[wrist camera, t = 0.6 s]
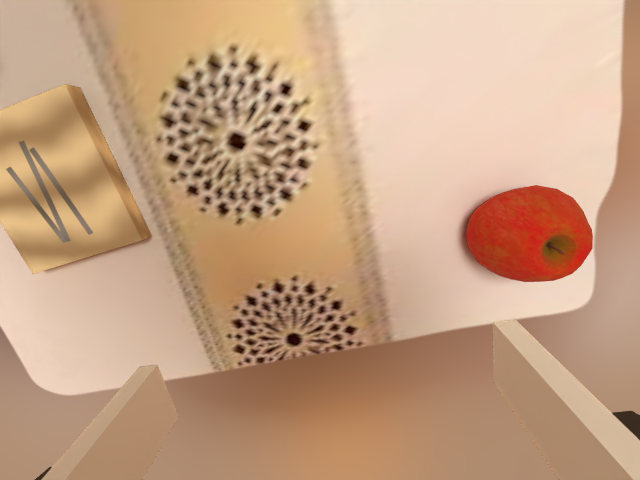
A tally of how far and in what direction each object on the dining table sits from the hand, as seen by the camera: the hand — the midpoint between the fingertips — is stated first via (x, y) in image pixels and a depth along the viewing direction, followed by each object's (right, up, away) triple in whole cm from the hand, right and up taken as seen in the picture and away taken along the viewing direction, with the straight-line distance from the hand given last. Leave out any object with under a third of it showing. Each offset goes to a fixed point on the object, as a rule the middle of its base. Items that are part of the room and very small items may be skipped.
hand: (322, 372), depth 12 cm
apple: (+22, +7, +24) cm, 33 cm away
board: (-32, +12, +25) cm, 42 cm away
